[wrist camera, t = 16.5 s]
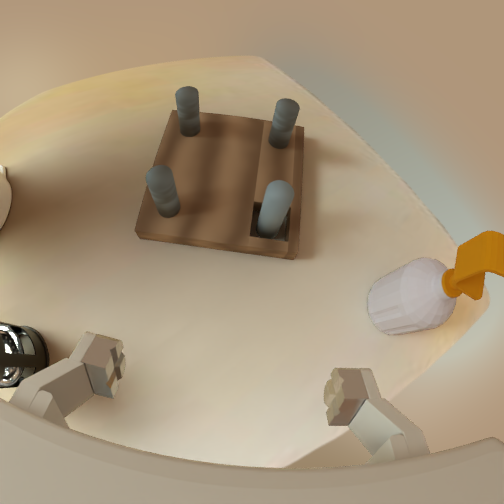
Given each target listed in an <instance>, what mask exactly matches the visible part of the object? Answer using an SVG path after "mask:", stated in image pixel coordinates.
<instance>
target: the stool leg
mask: <svg viewBox="0 0 504 504" xmlns="http://www.w3.org/2000/svg"><path fill="white" fill-rule="evenodd" d="M293 198H294V190H293V188H292V186H291V185H290V184H289V183H287V182H285V181H282V180H276V181H273V182H271V183H270V184H269V185H268V186H267V189H266V192H265V196H264V200H263V203H262V207H261V211H260V215H259V218H258V222H257V226H256V232H257V234H258V236H259V237H260V238H265V239H273V238H275V237H276V235H277V234H278V231H279V229H280V227H281V225H282V223H283V220H284V218H285V216H286V214H287V211H288V209H289V207H290V205H291V202H292V200H293Z"/></svg>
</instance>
